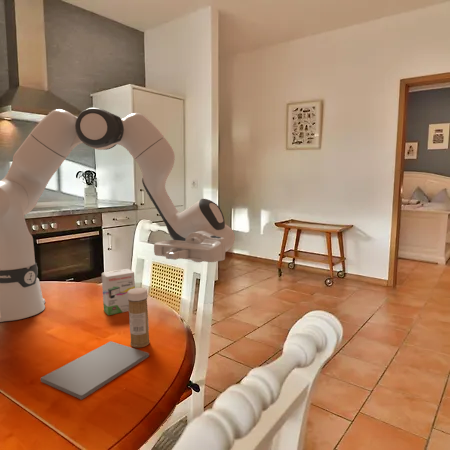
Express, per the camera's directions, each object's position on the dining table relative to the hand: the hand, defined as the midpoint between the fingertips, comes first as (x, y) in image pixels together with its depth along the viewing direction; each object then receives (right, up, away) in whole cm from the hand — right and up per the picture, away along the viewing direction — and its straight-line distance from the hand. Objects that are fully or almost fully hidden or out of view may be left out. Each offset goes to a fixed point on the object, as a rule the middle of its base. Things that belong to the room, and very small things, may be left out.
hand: (169, 256), depth 95 cm
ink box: (-17, -18, +14) cm, 28 cm away
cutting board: (-12, -22, -18) cm, 31 cm away
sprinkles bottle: (-6, -21, -8) cm, 23 cm away
